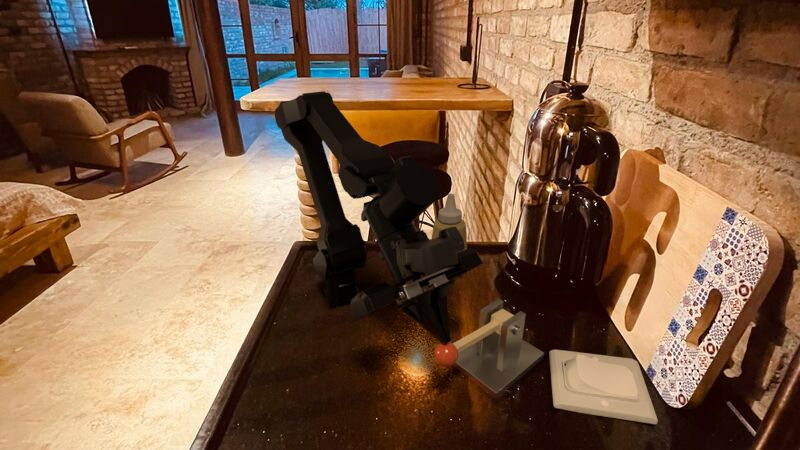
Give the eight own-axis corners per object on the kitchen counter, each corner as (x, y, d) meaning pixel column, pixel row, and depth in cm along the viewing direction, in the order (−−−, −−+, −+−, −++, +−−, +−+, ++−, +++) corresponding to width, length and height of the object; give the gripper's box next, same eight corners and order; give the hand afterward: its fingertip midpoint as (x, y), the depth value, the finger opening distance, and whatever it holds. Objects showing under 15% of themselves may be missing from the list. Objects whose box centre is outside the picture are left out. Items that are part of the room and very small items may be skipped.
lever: (445, 375, 52) (447, 355, 51) (427, 361, 54) (429, 342, 53) (514, 332, 61) (518, 314, 60) (497, 321, 63) (500, 304, 62)
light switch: (550, 336, 64) (641, 346, 61) (548, 356, 66) (636, 367, 63) (555, 390, 55) (663, 406, 52) (553, 412, 57) (656, 428, 53)
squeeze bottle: (469, 282, 84) (474, 202, 76) (429, 283, 84) (431, 203, 76) (464, 262, 91) (468, 187, 83) (427, 262, 91) (429, 187, 83)
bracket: (495, 399, 58) (502, 347, 53) (449, 364, 64) (452, 314, 60) (543, 359, 65) (552, 309, 60) (497, 330, 71) (503, 283, 66)
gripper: (355, 232, 44) (415, 369, 41) (478, 194, 54) (535, 303, 51) (329, 263, 54) (377, 377, 50) (438, 226, 63) (484, 319, 60)
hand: (446, 342), depth 53 cm, fingers closed
